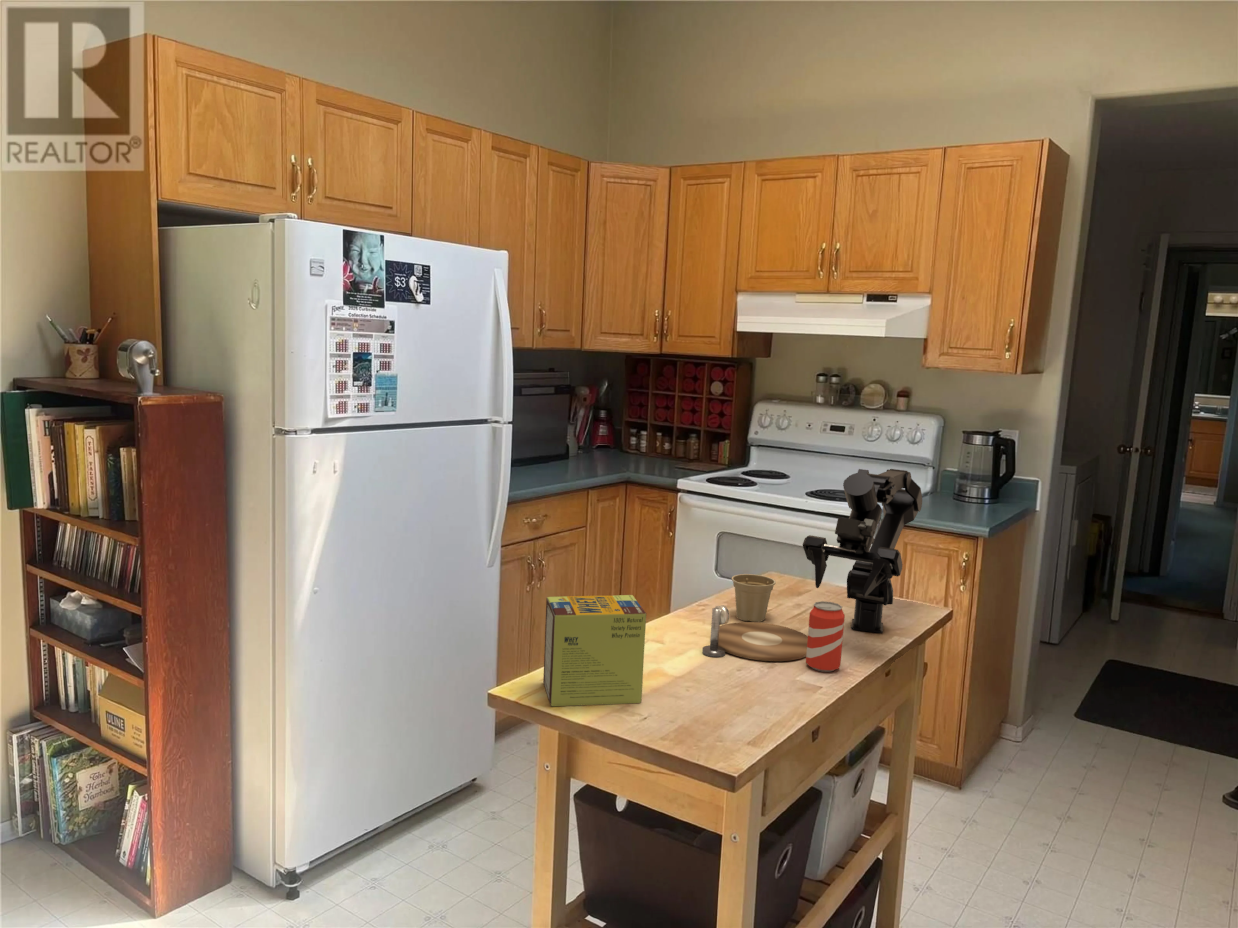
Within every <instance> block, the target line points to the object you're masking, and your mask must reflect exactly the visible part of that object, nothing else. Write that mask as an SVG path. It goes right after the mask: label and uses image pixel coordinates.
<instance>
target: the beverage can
mask: <svg viewBox="0 0 1238 928" xmlns="http://www.w3.org/2000/svg"><path fill="white" fill-rule="evenodd" d="M807 629H808V632H807V636H808V641H807V653H806V657H805V663H806V664H807V665H808V666H809V667H810V668H811V669H812V670H815V671H817V672H821V673H822V672H823V673H830V672H834V671H835V670H839V668H840V667H841V662H842V651H843V641H844V640H843V639H844V630H845V613H844V610H843V606H842V605H841V604H839V603H835V602H831V601H823V600H822V601H817V602H816V601H815V602H814V603H813V607H812V608H811V610H810V612H809V618H808V628H807Z"/></svg>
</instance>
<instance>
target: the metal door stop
mask: <svg viewBox="0 0 1238 928" xmlns="http://www.w3.org/2000/svg"><path fill="white" fill-rule="evenodd" d="M729 621H730V612H729V609H728V607H727V606H726V605H715V607H713V608H712V611H711V624H710V625H711V626H710V627H711V628H710V641H709V644H708V645H705V646H703V647H702V651H701V653H702V654H703V655H704V656H706V657H710V658H722V657H725V656H726V652H725V649H724V648H722V647H720V646H718V645H719V630H720V626H722V625H725V624H729Z"/></svg>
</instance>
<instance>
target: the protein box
mask: <svg viewBox="0 0 1238 928" xmlns="http://www.w3.org/2000/svg"><path fill="white" fill-rule="evenodd" d="M545 606H546V607H545V630H544V655H543V656H544V657H543V658H544V659H543V660H544V661H543V682H542V683H543V685H544V689H545V692H546V696H547V699H548V702H549V706H550V707H570V706H596V705H597V706H598V705H599V706H601V705H623V704H625V705H626V704H627V705H629V704H640V703H641V704H642V699H643V696H642V695H643V684H644V683H643V681H644V680H643V679H644V663H645V662H644V660H645V659H644V658H645V644H646V641H645V640H646V625H647V612H646V611H645V609H643V607H642V606H641V605H640V604H639V602H638V600H637V599H636V597H635V596H634V595H633V594H624V595H623V594H621V595H620V594H619V595H577V596H576V595H574V596H573V595H572V596H571V595H568V596H567V595H565V596H563V595H562V596H547V597H546V603H545Z"/></svg>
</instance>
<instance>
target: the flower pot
mask: <svg viewBox="0 0 1238 928" xmlns="http://www.w3.org/2000/svg"><path fill="white" fill-rule="evenodd" d="M731 581H732V582H733V583H732V584H733V587H734V596H735V597H734V598H735V613H736V616H735V617H736V618H737V619H739V620H741V621H742V622H748V621H749V622H758V623H761V622H763V621H765V619H766V617H767V612H768V607H769V603H770V598H771V594H772V591H773V590H774V589H773V588H774V586H775V585H776V582H777V581H776V580H775V579H774V578H772V577H769V576H766V575H761V574H753V573H751V574H750V573H742V574H735V575H732V577H731Z"/></svg>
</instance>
